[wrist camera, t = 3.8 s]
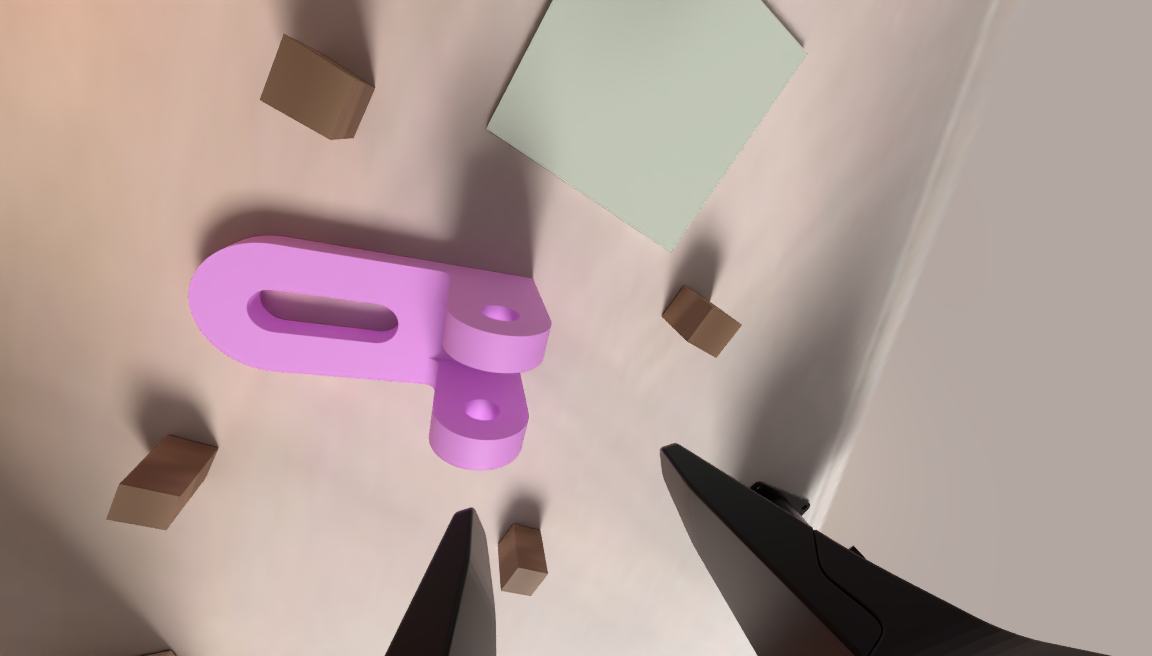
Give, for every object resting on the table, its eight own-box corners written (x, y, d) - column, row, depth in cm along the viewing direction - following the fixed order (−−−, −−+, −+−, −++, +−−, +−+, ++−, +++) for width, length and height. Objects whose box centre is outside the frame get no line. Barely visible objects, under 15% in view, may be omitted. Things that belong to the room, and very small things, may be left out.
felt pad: (801, 55, 18) (807, 53, 18) (667, 250, 21) (670, 252, 21) (626, -143, 14) (630, -150, 14) (486, 128, 17) (486, 128, 16)
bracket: (532, 277, 20) (560, 342, 14) (510, 376, 22) (527, 471, 16) (203, 221, 16) (41, 278, 10) (214, 348, 18) (85, 460, 12)
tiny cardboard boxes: (710, 301, 23) (741, 324, 20) (524, 551, 28) (530, 595, 25) (317, 50, 15) (283, 34, 12) (155, 466, 20) (106, 519, 17)
